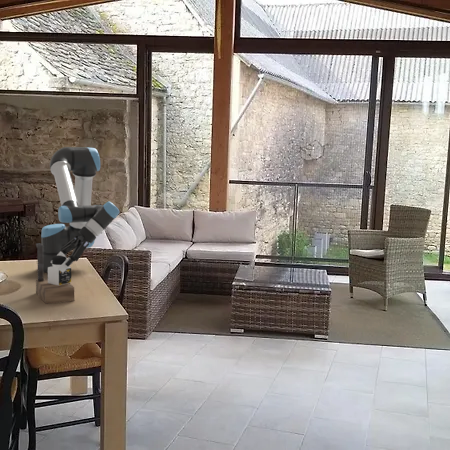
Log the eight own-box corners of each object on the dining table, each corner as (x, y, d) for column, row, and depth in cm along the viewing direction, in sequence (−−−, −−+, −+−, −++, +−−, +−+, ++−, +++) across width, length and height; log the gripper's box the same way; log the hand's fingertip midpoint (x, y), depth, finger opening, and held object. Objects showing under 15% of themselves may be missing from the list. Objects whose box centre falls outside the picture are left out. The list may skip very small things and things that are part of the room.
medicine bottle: (59, 286, 262) (58, 258, 260) (47, 283, 266) (47, 256, 264) (71, 282, 268) (71, 255, 266) (60, 280, 272) (59, 253, 270)
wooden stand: (35, 292, 273) (34, 243, 270) (62, 289, 279) (62, 242, 276) (45, 303, 256) (45, 251, 253) (74, 300, 262) (74, 250, 259)
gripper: (105, 242, 261) (70, 279, 256) (88, 232, 283) (55, 266, 278) (93, 230, 258) (57, 268, 253) (76, 221, 279) (43, 256, 274)
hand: (56, 267), depth 265 cm, fingers open, 13 cm apart
